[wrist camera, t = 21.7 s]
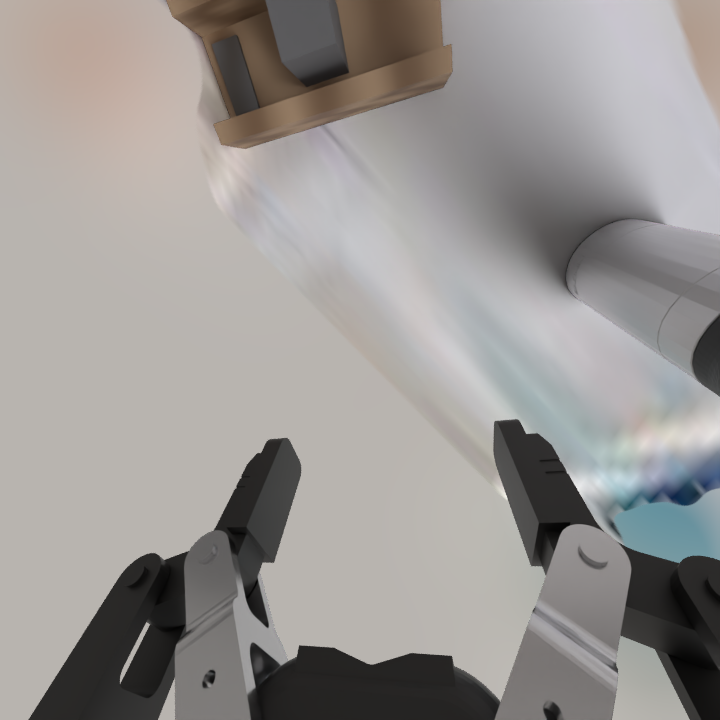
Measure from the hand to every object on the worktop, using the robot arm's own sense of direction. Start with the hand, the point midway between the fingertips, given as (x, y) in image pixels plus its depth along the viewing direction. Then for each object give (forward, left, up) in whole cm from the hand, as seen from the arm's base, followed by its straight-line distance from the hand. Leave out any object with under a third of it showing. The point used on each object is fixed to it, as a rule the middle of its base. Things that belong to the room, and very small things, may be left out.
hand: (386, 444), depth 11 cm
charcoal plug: (+3, -19, -27) cm, 33 cm away
